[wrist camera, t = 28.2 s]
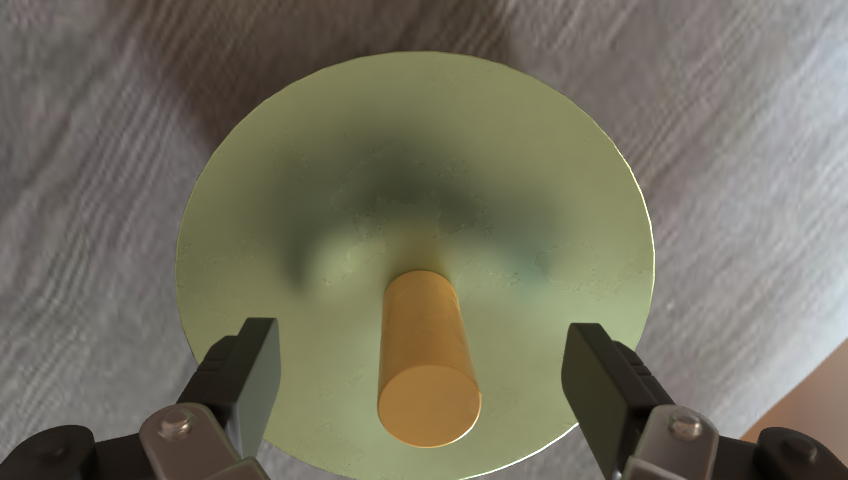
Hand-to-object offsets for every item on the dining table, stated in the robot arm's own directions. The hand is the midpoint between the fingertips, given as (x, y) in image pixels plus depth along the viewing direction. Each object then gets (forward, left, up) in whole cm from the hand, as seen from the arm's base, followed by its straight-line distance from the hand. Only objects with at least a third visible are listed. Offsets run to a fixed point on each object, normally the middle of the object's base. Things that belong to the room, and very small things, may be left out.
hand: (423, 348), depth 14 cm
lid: (0, 0, -3) cm, 3 cm away
